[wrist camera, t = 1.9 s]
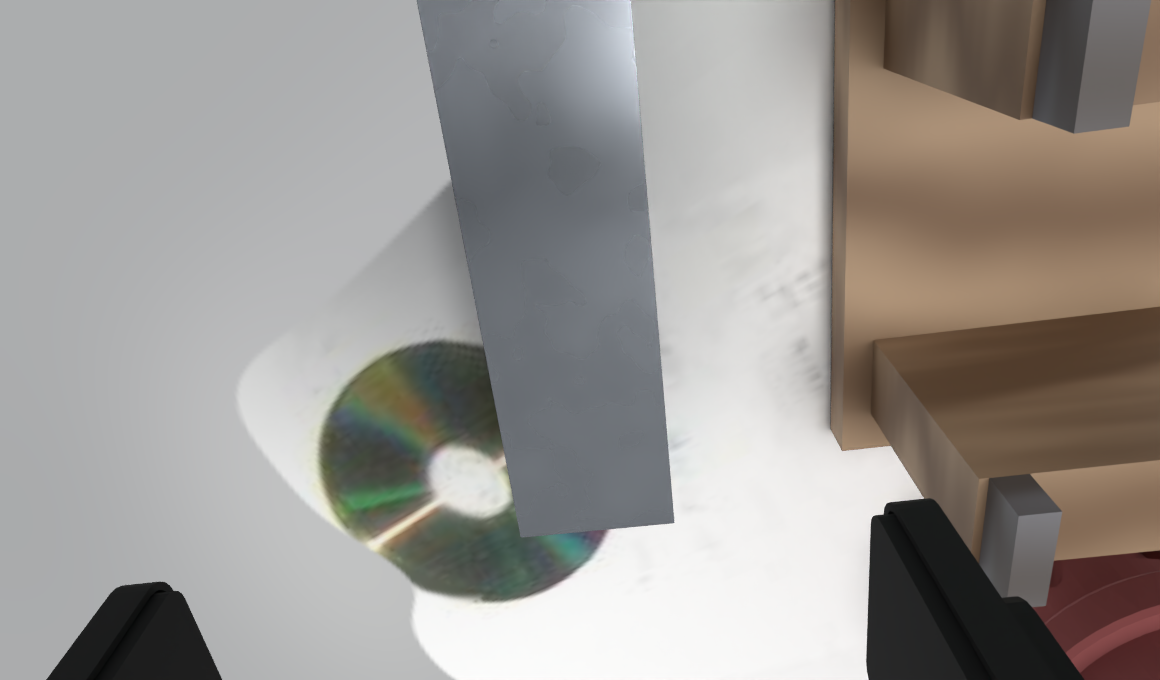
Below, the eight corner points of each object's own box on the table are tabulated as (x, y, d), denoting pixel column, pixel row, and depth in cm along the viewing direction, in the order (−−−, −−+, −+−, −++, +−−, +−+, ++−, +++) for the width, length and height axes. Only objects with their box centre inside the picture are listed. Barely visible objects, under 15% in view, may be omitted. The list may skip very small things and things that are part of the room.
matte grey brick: (442, -78, 23) (399, -87, 18) (611, -101, 23) (620, -118, 17) (531, 435, 31) (520, 537, 26) (657, 423, 31) (674, 522, 25)
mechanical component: (1017, 664, 36) (875, 554, 33) (1217, 533, 33) (1078, 400, 30) (1209, 977, 25) (1022, 855, 22) (1542, 830, 22) (1371, 662, 19)
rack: (836, -97, 23) (1034, -136, 13) (1270, -161, 22) (1838, -256, 12) (830, 429, 30) (950, 656, 21) (1149, 393, 30) (1432, 612, 20)
